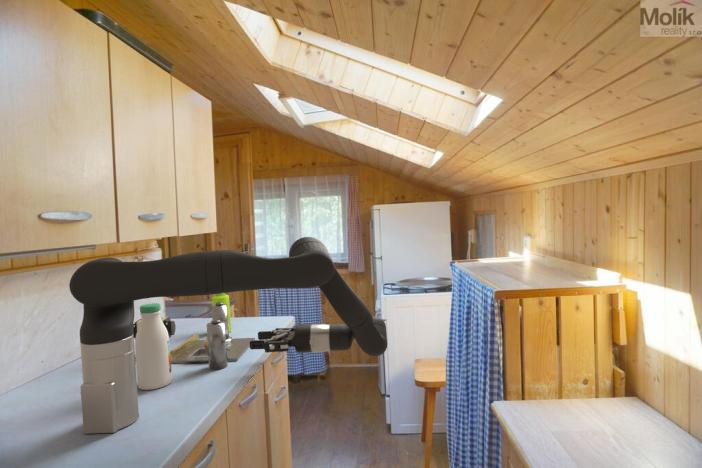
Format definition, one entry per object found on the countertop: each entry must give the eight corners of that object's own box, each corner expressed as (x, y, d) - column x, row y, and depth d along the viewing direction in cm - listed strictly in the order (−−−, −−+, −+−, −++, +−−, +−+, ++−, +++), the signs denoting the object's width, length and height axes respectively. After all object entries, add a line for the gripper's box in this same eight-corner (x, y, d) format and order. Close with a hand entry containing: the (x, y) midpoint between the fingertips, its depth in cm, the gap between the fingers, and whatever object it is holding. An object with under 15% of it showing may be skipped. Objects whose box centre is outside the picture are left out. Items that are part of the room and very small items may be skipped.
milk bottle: (167, 389, 99) (162, 306, 98) (133, 392, 98) (127, 309, 97) (175, 377, 107) (170, 300, 106) (143, 380, 106) (138, 302, 105)
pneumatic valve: (172, 355, 125) (170, 316, 124) (131, 358, 123) (129, 319, 123) (178, 349, 130) (175, 312, 130) (139, 353, 129) (136, 314, 128)
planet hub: (224, 369, 111) (221, 322, 110) (206, 370, 111) (203, 323, 110) (229, 363, 115) (227, 318, 115) (212, 363, 116) (210, 318, 115)
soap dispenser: (208, 334, 147) (204, 278, 146) (224, 329, 153) (221, 275, 152) (218, 336, 144) (215, 279, 143) (234, 331, 149) (231, 276, 149)
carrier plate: (236, 361, 116) (233, 314, 116) (166, 364, 117) (163, 316, 116) (255, 340, 137) (252, 299, 136) (195, 342, 137) (193, 302, 137)
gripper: (315, 318, 119) (259, 320, 120) (309, 331, 105) (246, 333, 105) (316, 343, 119) (261, 345, 120) (310, 360, 105) (247, 362, 106)
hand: (254, 340), depth 113 cm, fingers open, 8 cm apart
